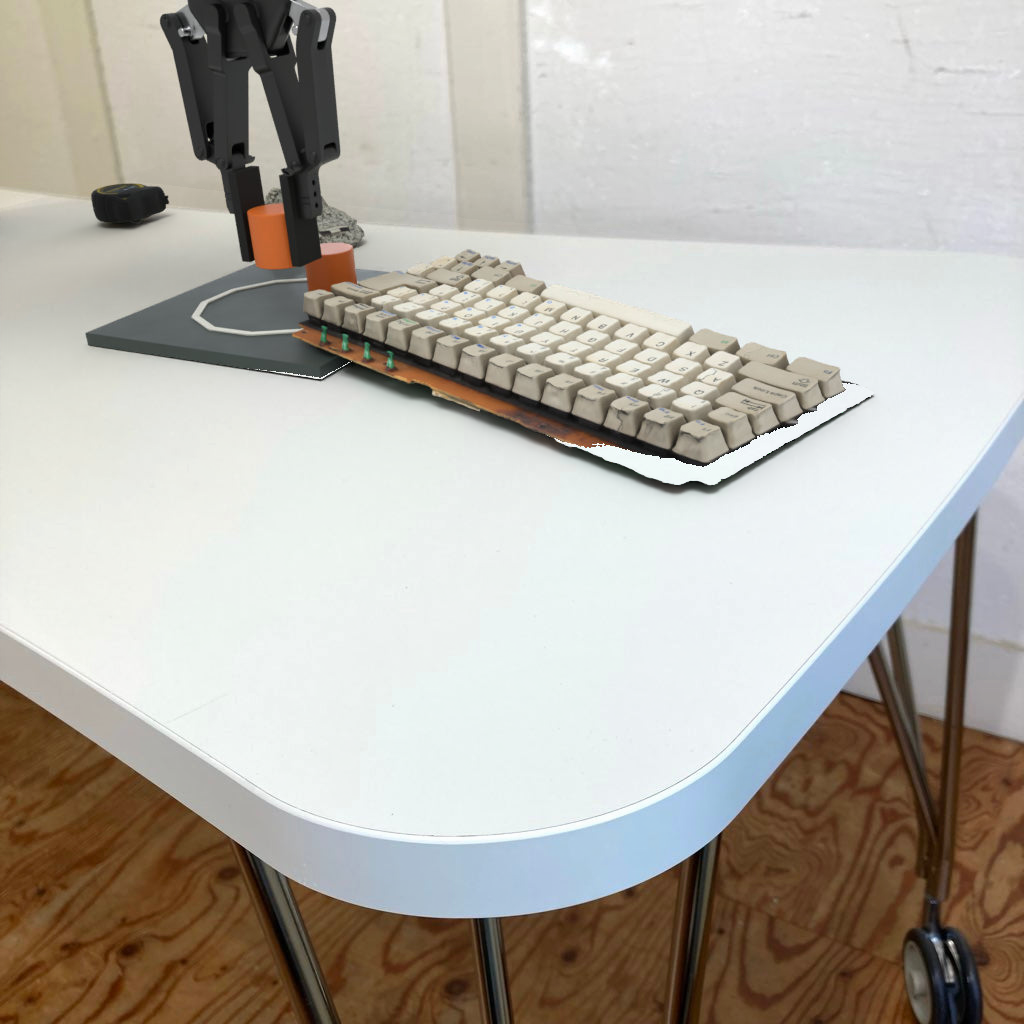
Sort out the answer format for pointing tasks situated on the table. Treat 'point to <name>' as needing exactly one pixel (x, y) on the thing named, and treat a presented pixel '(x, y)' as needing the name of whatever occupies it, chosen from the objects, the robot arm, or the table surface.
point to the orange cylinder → (269, 237)
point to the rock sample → (328, 222)
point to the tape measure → (127, 202)
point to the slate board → (230, 324)
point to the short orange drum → (331, 267)
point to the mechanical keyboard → (565, 359)
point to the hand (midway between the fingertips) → (282, 258)
